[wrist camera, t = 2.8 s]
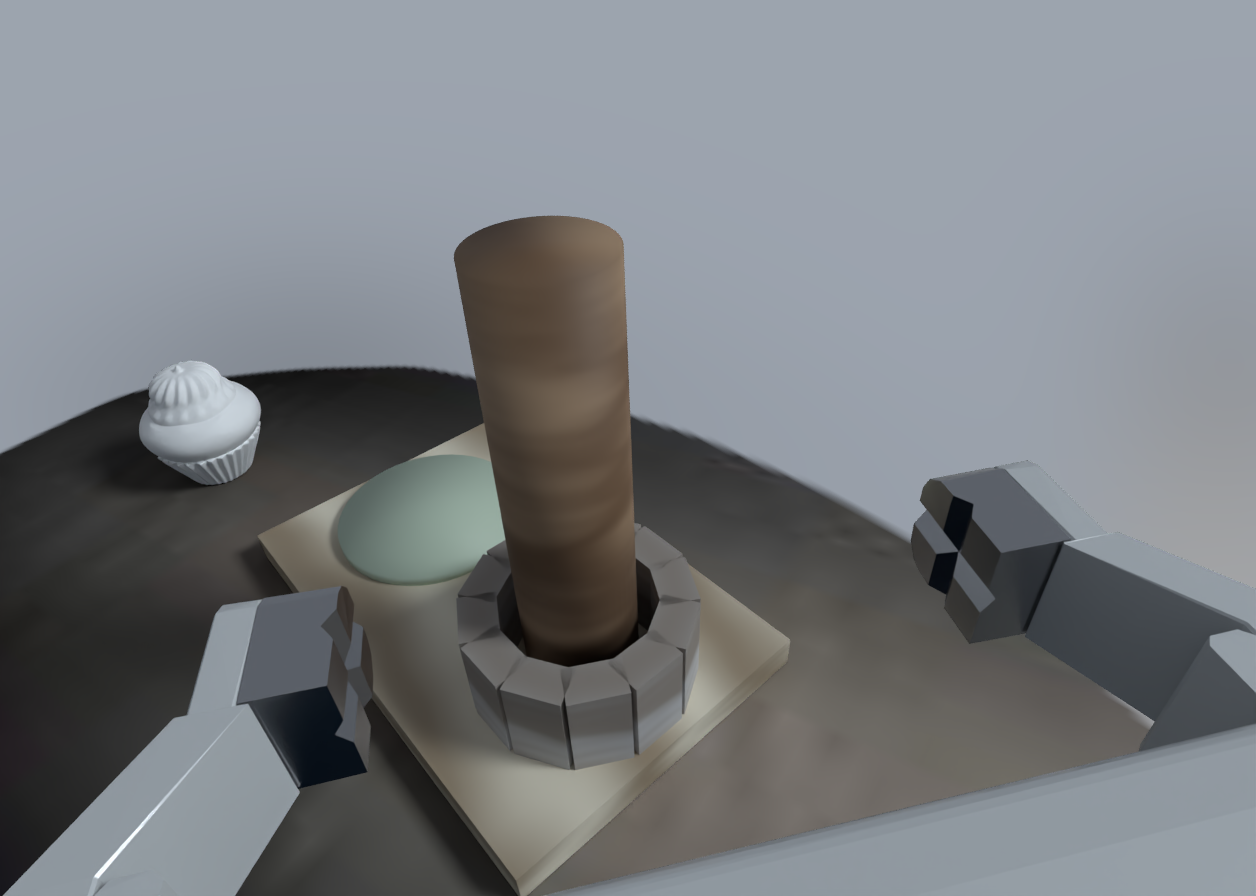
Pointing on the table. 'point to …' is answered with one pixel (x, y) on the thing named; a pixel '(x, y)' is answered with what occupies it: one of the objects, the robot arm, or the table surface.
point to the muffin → (201, 423)
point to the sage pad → (422, 521)
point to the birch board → (443, 697)
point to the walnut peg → (557, 426)
